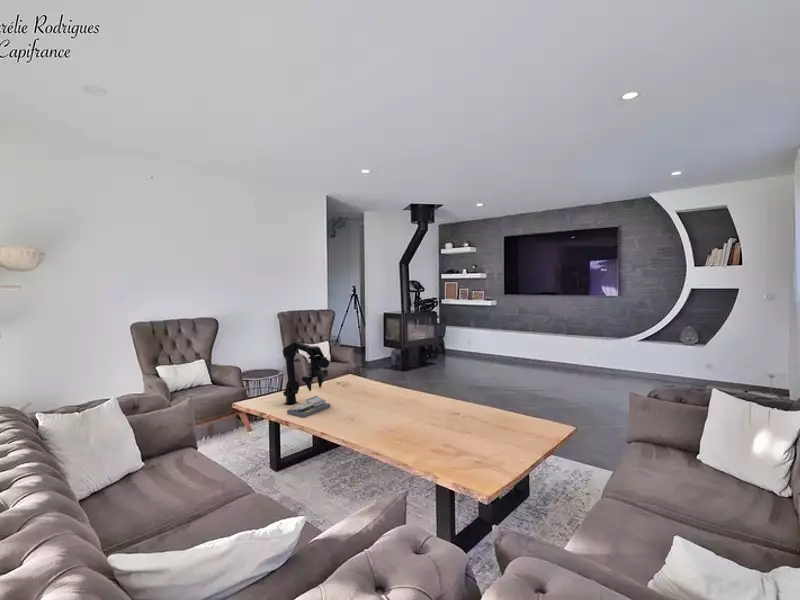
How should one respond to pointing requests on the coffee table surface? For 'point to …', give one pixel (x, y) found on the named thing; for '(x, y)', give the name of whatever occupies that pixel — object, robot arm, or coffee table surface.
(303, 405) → the grey flat slab
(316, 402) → the rocker
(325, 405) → the switch unit
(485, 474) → the coffee table surface
